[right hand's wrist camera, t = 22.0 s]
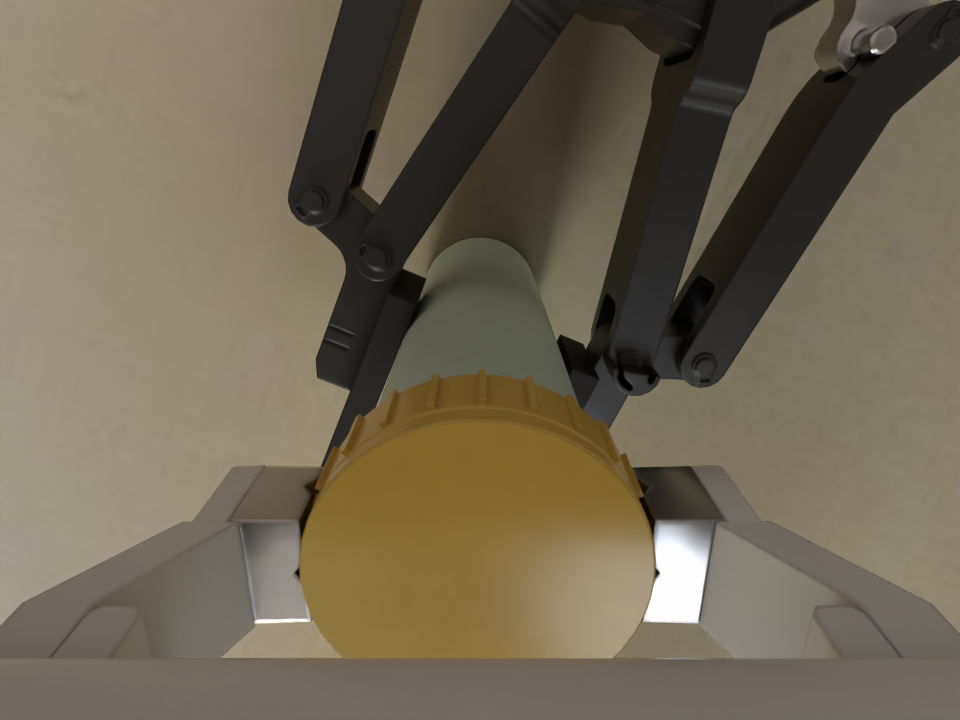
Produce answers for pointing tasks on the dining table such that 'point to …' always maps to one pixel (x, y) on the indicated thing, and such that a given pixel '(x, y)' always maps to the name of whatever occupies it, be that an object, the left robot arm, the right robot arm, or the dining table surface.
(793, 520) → the dining table surface
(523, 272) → the green bottle
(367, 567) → the lid
